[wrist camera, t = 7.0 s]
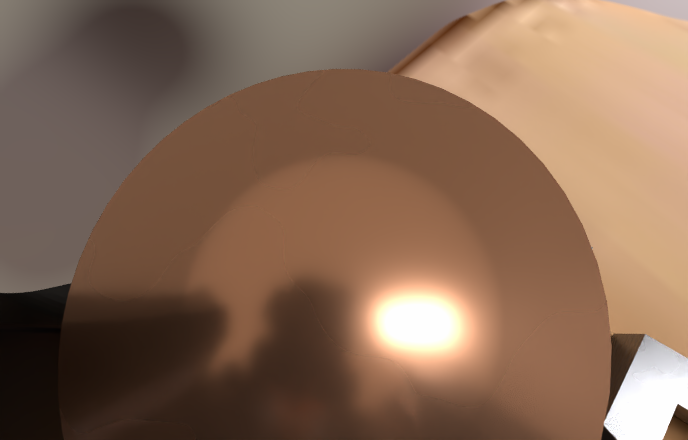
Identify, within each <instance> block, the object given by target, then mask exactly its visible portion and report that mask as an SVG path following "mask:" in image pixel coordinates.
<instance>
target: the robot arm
mask: <svg viewBox="0 0 688 440" xmlns="http://www.w3.org/2000/svg"><path fill="white" fill-rule="evenodd" d="M71 284H72V283H71ZM71 284H66V285H62V286H58V287H53V288H49V289H44V290H38V291H33V292H24V293H0V440H64V438H63V433H62V425H61V417H60V409H59V400H58V354H59V345H60V336H61V326H62V321H63V316H64V312H65V307H66V303H67V298H68V293H69V290H70V287H71ZM601 440H617V439H616V438H615V437H614V435H613V434H612V433H611V432H610V431H609V430H608V429H607V428H606V427H605V426H604V427H603V432H602V437H601Z"/></svg>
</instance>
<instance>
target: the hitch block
mask: <svg viewBox="0 0 688 440" xmlns="http://www.w3.org/2000/svg"><path fill="white" fill-rule="evenodd" d="M611 346H612V350H611V375H610V395H609V400H608V405H607V411H606V416H605V421H604V426H605V427H606V428H607V429H608V430H609V431H610V432H611V433H612V434H613V435H614V437H615V438H616V439H617V440H662V439H663V437H664V434H665V432H666V430H667V427H668V425H669V423H670V420H671V418H672V416H673V415H675V416H676V417H678V418H679V419H681V420H682V421H684V422H686V423H687V424H688V358H686V357H684V356H682V355H681V354H679V353H677V352H675V351H674V350H672V349H670V348H668V347H667V346H665V345H663V344H662V343H660V342H658V341H656V340H655V339H653V338H651V337H649V336H648V335H646V334H614V335H613V337H612V339H611Z"/></svg>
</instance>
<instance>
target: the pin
mask: <svg viewBox="0 0 688 440" xmlns="http://www.w3.org/2000/svg"><path fill="white" fill-rule="evenodd" d="M611 350H612V346H611V336H610V326H609V317H608V307H607V301H606V296H605V292H604V288H603V284H602V280H601V276H600V272H599V268H598V264H597V261H596V258H595V256H594V253H593V250H592V248H591V245H590V243H589V240H588V238H587V235H586V233H585V230H584V228H583V225H582V223H581V222H580V220H579V218H578V216H577V214H576V212H575V211H574V209H573V207H572V205H571V203H570V202H569V200H568V198H567V196H566V194H565V193H564V191H563V190H562V188H561V187H560V186H559V184H558V183H557V182H556V180H555V179H554V178H553V176H552V175H551V173H550V172H549V171H548V169H547V168H546V167H545V165H544V164H543V163H542V162H541V161H540V160H539V159H538V158H537V156H536V155H535V154H534V153H533V152H532V151H531V150H530V149H529V148H528V147H527V146H526V145H525V144H524V143H523V142H522V141H521V140H520V139H519V138H518V137H517V136H516V135H514V134H513V133H512V132H511V131H510V130H508V129H507V128H506V127H505V126H504V125H502V124H501V123H500V122H499V121H498V120H496V119H495V118H494V117H492V116H490V115H489V114H487V113H486V112H484V111H483V110H481V109H480V108H478V107H476V106H475V105H473V104H472V103H470V102H468V101H466V100H464V99H462V98H460V97H458V96H456V95H454V94H452V93H450V92H448V91H446V90H444V89H442V88H439V87H436V86H433V85H430V84H428V83H425V82H422V81H419V80H416V79H413V78H408V77H404V76H400V75H395V74H391V73H386V72H377V71H369V70H361V69H329V70H318V71H308V72H303V73H297V74H292V75H287V76H281V77H278V78H275V79H271V80H268V81H265V82H261V83H258V84H255V85H253V86H250V87H248V88H245V89H243V90H241V91H238V92H236V93H233V94H231V95H229V96H227V97H225V98H223V99H221V100H219V101H217V102H216V103H214V104H212V105H210V106H208V107H206V108H205V109H203V110H202V111H200V112H199V113H197V114H196V115H194V116H193V117H191V118H190V119H188V120H187V121H185V122H184V123H183V124H181V125H180V126H179V127H177V129H175V130H174V131H172V132H171V133H170V134H169V135H167V136H166V137H165V138H164V139H163V140H162V141H161V142H159V143H158V144H157V145H156V146H155V147H154V148H153V150H152V151H150V152H149V153H148V154H147V155H146V156H145V157H144V158H143V159H142V160H141V162H140V163H139V164H138V165H137V166H136V167H135V168H134V170H133V171H132V172H131V173H130V174H129V176H128V177H127V178H126V179H125V180H124V182H123V183H122V184H121V186H120V187H119V189H118V190H117V191H116V193H115V194H114V196H113V197H112V199H111V200H110V202H109V203H108V204H107V206H106V208H105V210H104V211H103V213H102V215H101V216H100V218H99V220H98V222H97V224H96V225H95V227H94V229H93V231H92V233H91V235H90V237H89V239H88V242H87V244H86V246H85V249H84V251H83V253H82V255H81V257H80V260H79V263H78V265H77V268H76V272H75V275H74V278H73V281H72V284H71V287H70V290H69V293H68V298H67V303H66V307H65V312H64V316H63V321H62V326H61V336H60V345H59V354H58V400H59V409H60V417H61V425H62V433H63V438H64V440H601V437H602V432H603V427H604V421H605V416H606V411H607V405H608V400H609V395H610V375H611Z"/></svg>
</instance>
